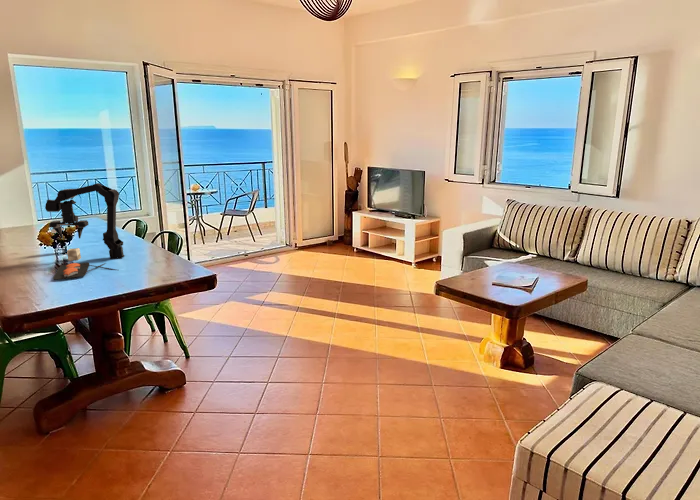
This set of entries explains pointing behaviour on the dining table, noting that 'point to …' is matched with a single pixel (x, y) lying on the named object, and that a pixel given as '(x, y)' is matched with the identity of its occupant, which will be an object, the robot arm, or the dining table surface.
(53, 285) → the dining table surface
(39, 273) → the dining table surface
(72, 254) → the birch block
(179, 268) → the dining table surface
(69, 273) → the sushi plate
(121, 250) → the robot arm
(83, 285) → the dining table surface
